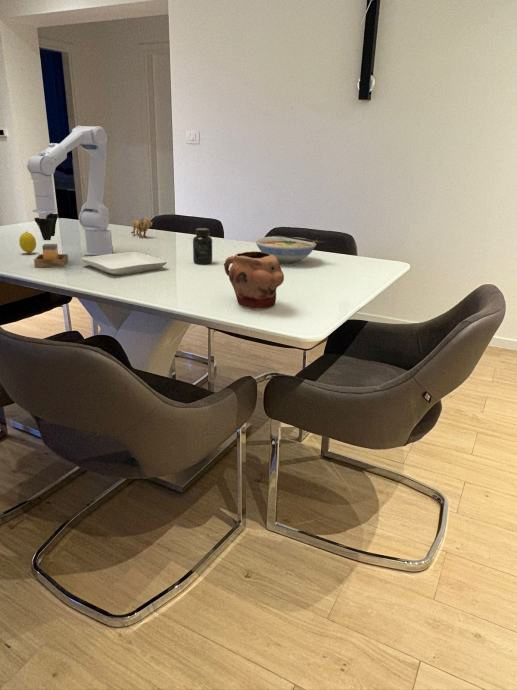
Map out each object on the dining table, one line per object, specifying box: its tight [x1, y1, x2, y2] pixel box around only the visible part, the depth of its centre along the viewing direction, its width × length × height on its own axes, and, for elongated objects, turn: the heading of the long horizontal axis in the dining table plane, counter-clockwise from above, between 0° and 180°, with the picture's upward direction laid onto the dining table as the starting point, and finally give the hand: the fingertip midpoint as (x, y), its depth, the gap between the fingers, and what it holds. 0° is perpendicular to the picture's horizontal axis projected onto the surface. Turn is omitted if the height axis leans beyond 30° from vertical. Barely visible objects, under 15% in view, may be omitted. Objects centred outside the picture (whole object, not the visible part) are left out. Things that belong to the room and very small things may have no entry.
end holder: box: [33, 253, 69, 268], centre depth 173 cm, size 9×9×2 cm
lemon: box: [18, 231, 37, 255], centre depth 186 cm, size 6×6×8 cm
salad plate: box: [80, 251, 168, 276], centre depth 172 cm, size 21×21×3 cm
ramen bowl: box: [254, 234, 327, 264], centre depth 191 cm, size 25×23×8 cm
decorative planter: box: [223, 250, 285, 310], centre depth 136 cm, size 20×12×14 cm, turn 55°
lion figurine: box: [130, 217, 153, 239], centre depth 229 cm, size 15×5×9 cm, turn 46°
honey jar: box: [41, 243, 59, 259], centre depth 172 cm, size 4×4×6 cm
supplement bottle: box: [192, 227, 213, 266], centre depth 182 cm, size 7×7×12 cm
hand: (49, 238), depth 170 cm, fingers open, 7 cm apart
